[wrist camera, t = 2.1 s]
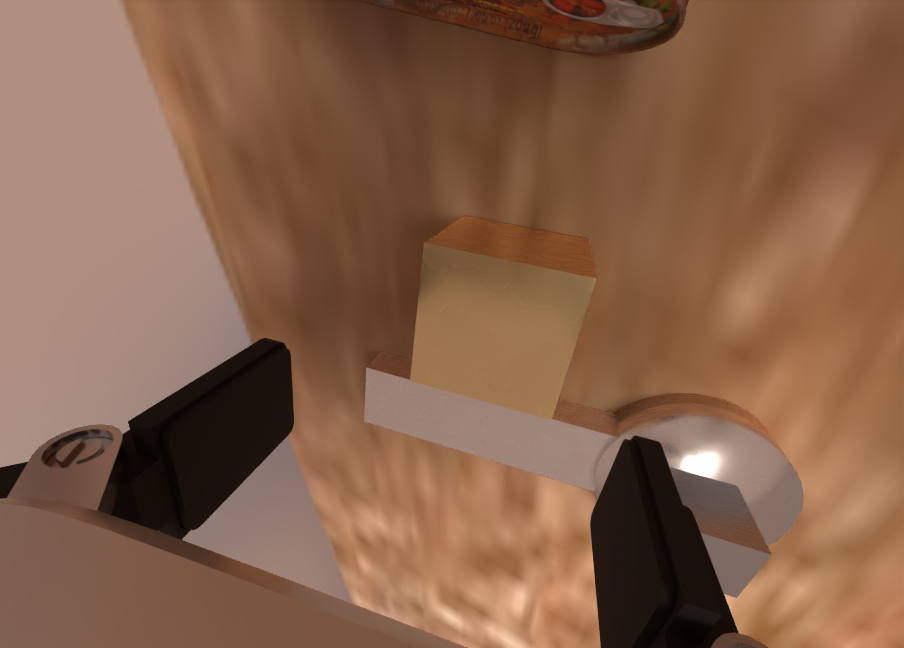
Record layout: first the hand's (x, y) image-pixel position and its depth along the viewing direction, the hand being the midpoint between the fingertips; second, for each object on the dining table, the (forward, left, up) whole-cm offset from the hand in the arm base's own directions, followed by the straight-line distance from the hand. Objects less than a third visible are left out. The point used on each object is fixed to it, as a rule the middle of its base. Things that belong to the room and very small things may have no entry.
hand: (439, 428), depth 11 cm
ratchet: (+7, +5, -11) cm, 14 cm away
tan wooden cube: (-1, 0, -11) cm, 11 cm away
